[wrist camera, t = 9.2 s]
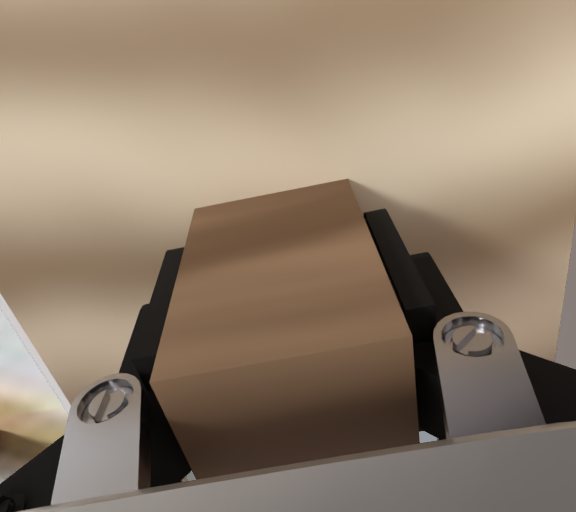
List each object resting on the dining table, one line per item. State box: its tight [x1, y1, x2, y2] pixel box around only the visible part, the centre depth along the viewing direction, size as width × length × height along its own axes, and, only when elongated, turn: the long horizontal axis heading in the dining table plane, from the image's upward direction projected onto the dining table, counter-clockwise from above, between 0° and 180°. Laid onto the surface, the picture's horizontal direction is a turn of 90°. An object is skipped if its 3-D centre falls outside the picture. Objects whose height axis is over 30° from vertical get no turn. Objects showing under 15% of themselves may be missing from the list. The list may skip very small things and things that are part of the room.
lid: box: [0, 0, 576, 480], centre depth 11 cm, size 16×16×7 cm
